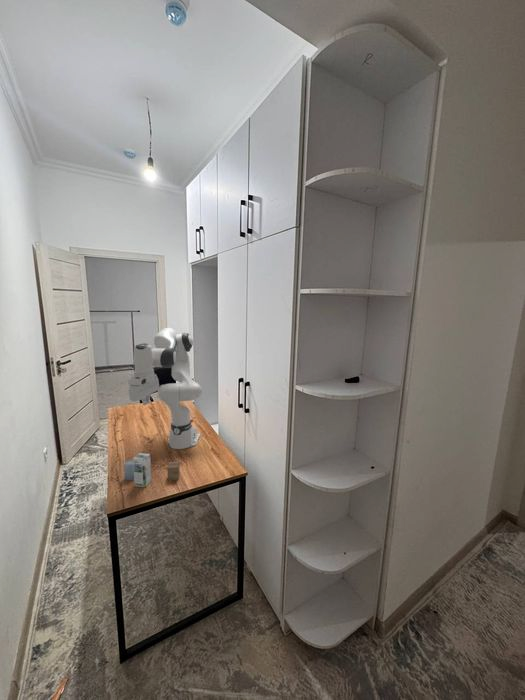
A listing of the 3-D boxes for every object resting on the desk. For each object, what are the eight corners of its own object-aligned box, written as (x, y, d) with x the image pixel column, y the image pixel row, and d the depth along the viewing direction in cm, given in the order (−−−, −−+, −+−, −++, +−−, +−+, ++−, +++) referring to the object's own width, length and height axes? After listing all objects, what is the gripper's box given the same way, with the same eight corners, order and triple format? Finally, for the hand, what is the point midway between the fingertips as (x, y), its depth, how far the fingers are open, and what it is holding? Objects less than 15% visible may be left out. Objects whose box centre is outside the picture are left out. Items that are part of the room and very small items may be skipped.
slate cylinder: (128, 474, 147) (128, 459, 146) (137, 475, 147) (136, 460, 145) (122, 480, 143) (121, 465, 141) (131, 481, 142) (130, 466, 140)
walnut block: (169, 474, 148) (168, 462, 146) (179, 474, 148) (179, 461, 147) (167, 480, 143) (167, 467, 142) (178, 479, 144) (177, 466, 142)
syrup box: (134, 486, 138) (132, 458, 135) (141, 479, 143) (139, 452, 141) (145, 487, 137) (143, 459, 135) (151, 480, 143) (150, 453, 140)
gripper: (150, 371, 152) (152, 397, 154) (125, 382, 132) (127, 410, 134) (161, 372, 150) (162, 398, 153) (138, 383, 131) (139, 412, 133)
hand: (146, 404), depth 143 cm, fingers closed
